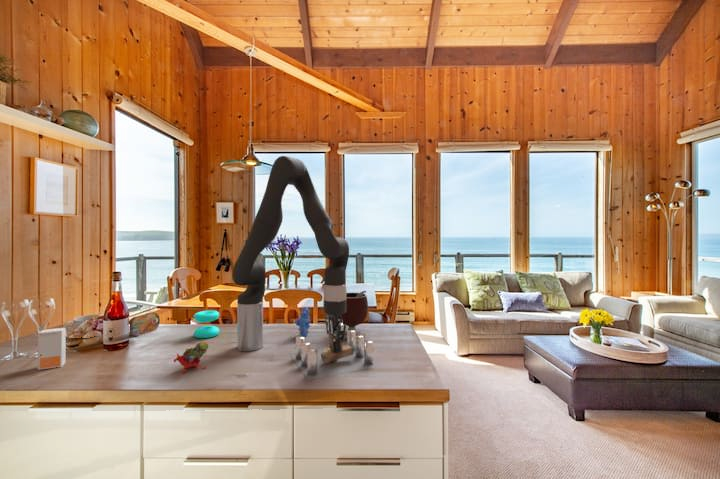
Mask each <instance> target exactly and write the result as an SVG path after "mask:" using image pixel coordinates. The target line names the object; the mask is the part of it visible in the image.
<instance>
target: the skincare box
mask: <svg viewBox="0 0 720 479" xmlns="http://www.w3.org/2000/svg"><path fill="white" fill-rule="evenodd" d="M66 333H67V331H66V328H63V327H57V328H49V329H48V328H47V329H42V330H41V331H39V332H37V370H38V371H40V370H48V369H56V367H57V368H63V366H64V365H65V364H66V356H67V355H66V350H67V349H66V338H67V336H66V335H67V334H66Z"/></svg>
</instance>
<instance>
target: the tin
mask: <svg viewBox="0 0 720 479" xmlns="http://www.w3.org/2000/svg"><path fill="white" fill-rule="evenodd" d="M128 322H129V324H130V334H131V335H130V334H129V335H130V336H132V337H134V336H135V337H140V336H139V335H141V336H143V335H142V334H144V335H146V334H149V333H152V332H154V331H156V330H157V329H158V327H159V325H160V322H161V319H160V316H159V314H158V313H157V312H155V311H153V312H146V313H143V314H140V315H136V316H133V317H132V318H130V319H129V321H128ZM151 331H152V332H151ZM148 332H149V333H148ZM145 333H146V334H145Z"/></svg>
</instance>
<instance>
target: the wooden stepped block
mask: <svg viewBox="0 0 720 479" xmlns="http://www.w3.org/2000/svg"><path fill="white" fill-rule="evenodd" d="M328 339H329V340H328V341H329V348H331V351H328V352H325V353H321V358H322V361H323V362H324V363H327V362H330V361H333V360H337V359H340V358H343V357H346V356H349V355H352V354H353V349H352V347H351V346H349V345H347V344H346V345H347V346H344V347H342V346H343V345H342V344H343V343H342V341H340V352H339V353H334V352H333V334H332V333H329V334H328Z"/></svg>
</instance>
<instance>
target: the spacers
mask: <svg viewBox="0 0 720 479" xmlns="http://www.w3.org/2000/svg"><path fill="white" fill-rule="evenodd" d="M305 337H306V336H305ZM305 337H303V336H301V335H299V336H296V337H295V353H296V359H297V360H301V366H302V367H307V374H308V375H311V376H312V375H316V374H317V349H318V348H311V342H309V341H305V339H306V338H305ZM346 340H347V341H346V343H347V344H346V345H349V346H351V347H352V349H353V351H355V357H357V358H362V357H364V364H365V365H372V364H373V361H374V341H373V340H369V339H368V340H367V339H366V340H365V336H363V335H356V331H355V330H348V331H347V339H346Z"/></svg>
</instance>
